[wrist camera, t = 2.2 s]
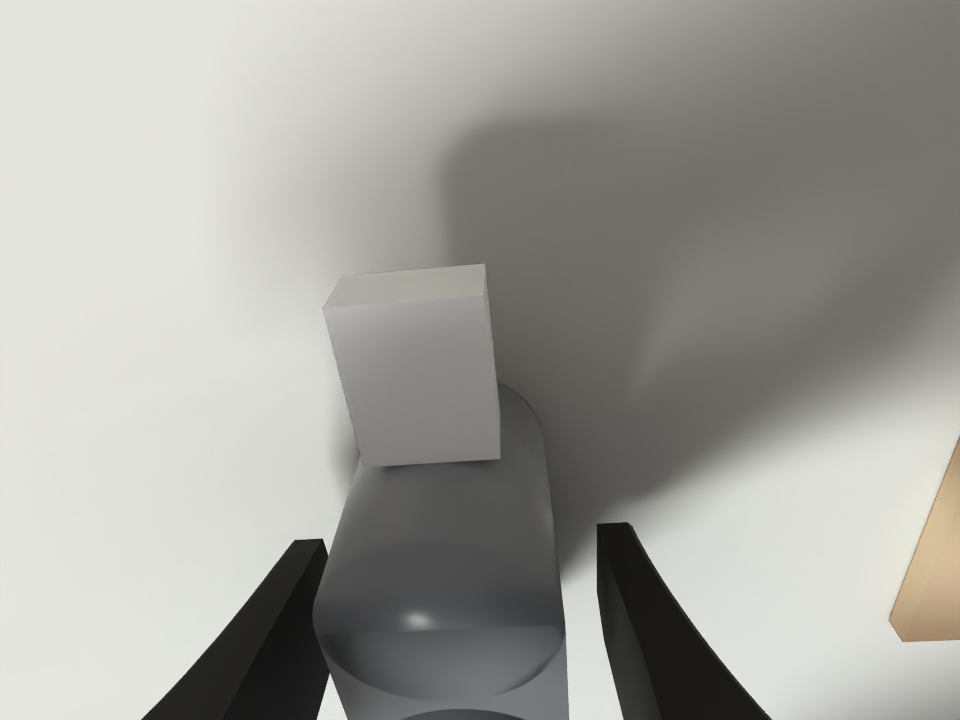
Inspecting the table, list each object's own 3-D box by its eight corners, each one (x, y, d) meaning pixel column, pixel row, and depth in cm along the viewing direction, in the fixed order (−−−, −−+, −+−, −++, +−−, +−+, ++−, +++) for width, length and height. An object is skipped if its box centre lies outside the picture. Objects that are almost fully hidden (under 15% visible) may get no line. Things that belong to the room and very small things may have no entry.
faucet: (553, 618, 15) (573, 814, 12) (411, 624, 16) (385, 816, 12) (532, 226, 10) (554, 348, 6) (319, 245, 10) (217, 374, 7)
